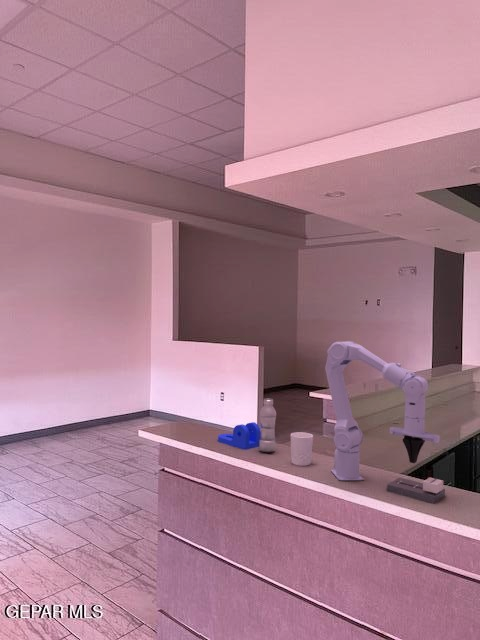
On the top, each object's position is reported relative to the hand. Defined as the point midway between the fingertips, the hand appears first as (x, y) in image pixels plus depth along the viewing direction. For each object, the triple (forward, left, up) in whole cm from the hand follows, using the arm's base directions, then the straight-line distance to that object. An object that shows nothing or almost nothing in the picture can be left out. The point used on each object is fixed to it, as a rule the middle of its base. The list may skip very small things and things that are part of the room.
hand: (413, 462), depth 147 cm
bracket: (-56, -48, -10) cm, 74 cm away
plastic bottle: (-43, -37, -9) cm, 58 cm away
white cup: (-29, -27, -9) cm, 41 cm away
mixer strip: (+1, +1, -9) cm, 9 cm away
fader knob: (+5, +4, -7) cm, 9 cm away
